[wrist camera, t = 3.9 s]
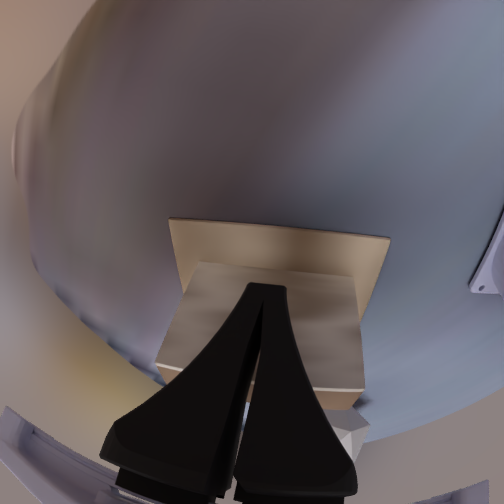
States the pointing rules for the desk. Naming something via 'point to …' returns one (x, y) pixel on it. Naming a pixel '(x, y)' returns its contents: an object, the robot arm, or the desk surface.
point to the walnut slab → (302, 320)
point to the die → (348, 429)
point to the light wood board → (279, 251)
